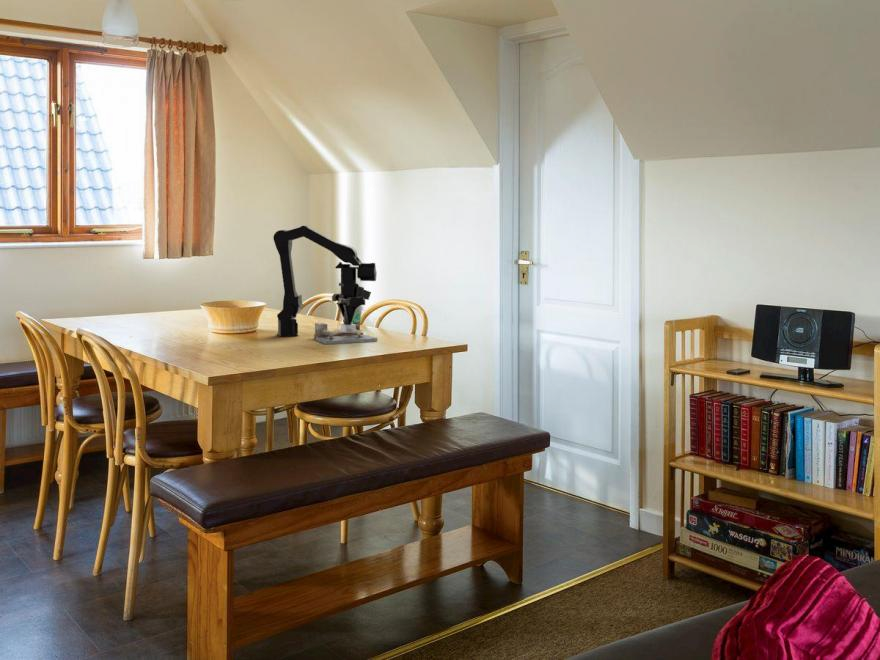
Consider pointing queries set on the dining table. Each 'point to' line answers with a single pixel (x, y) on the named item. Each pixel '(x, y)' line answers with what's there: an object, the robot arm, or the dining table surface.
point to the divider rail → (322, 331)
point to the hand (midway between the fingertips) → (348, 322)
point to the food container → (357, 317)
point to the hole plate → (346, 339)
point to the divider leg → (349, 327)
